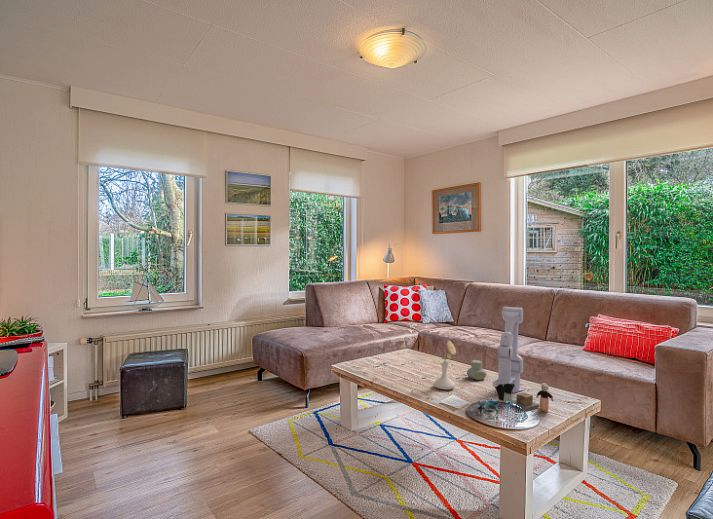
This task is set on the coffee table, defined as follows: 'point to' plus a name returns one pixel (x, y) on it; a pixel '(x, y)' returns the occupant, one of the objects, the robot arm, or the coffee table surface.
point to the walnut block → (524, 399)
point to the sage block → (505, 397)
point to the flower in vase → (444, 380)
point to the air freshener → (476, 370)
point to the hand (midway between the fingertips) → (504, 399)
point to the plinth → (528, 407)
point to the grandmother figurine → (544, 397)
